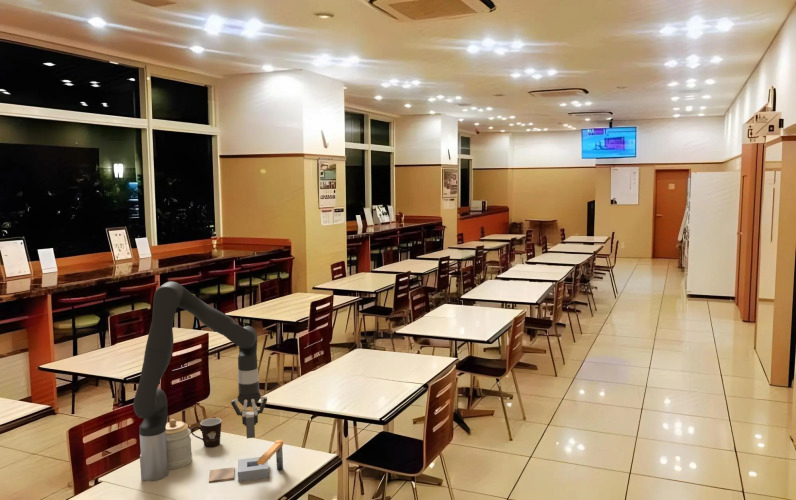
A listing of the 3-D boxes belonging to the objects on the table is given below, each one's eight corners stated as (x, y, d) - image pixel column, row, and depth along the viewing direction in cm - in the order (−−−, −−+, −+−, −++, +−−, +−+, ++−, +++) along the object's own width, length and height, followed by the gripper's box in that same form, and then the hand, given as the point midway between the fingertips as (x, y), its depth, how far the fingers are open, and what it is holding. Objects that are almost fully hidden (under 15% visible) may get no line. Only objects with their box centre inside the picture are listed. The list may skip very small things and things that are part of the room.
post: (276, 471, 234) (276, 447, 233) (276, 468, 236) (275, 444, 235) (283, 470, 234) (282, 446, 233) (282, 467, 237) (282, 444, 236)
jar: (193, 466, 239) (190, 422, 238) (157, 472, 235) (154, 427, 233) (191, 453, 252) (189, 411, 250) (157, 458, 247) (154, 416, 245)
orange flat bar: (276, 443, 236) (276, 439, 236) (284, 443, 236) (284, 440, 235) (256, 464, 219) (256, 460, 218) (264, 464, 218) (264, 461, 218)
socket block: (238, 481, 226) (237, 472, 226) (238, 468, 237) (238, 459, 237) (268, 477, 229) (268, 468, 229) (267, 464, 240) (267, 456, 239)
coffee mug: (225, 440, 263) (224, 418, 262) (218, 449, 255) (216, 426, 254) (199, 440, 264) (198, 417, 263) (191, 448, 256) (189, 425, 255)
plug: (246, 438, 230) (245, 415, 229) (246, 435, 232) (245, 412, 232) (254, 437, 230) (254, 414, 229) (254, 434, 233) (253, 411, 232)
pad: (208, 482, 226) (208, 480, 226) (210, 471, 234) (210, 470, 234) (234, 479, 228) (234, 477, 228) (234, 468, 237) (234, 467, 236)
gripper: (228, 385, 224) (230, 430, 226) (268, 381, 227) (269, 426, 229) (229, 378, 231) (231, 423, 233) (267, 375, 234) (268, 419, 236)
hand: (250, 424), depth 231 cm, fingers closed on plug, 3 cm apart
